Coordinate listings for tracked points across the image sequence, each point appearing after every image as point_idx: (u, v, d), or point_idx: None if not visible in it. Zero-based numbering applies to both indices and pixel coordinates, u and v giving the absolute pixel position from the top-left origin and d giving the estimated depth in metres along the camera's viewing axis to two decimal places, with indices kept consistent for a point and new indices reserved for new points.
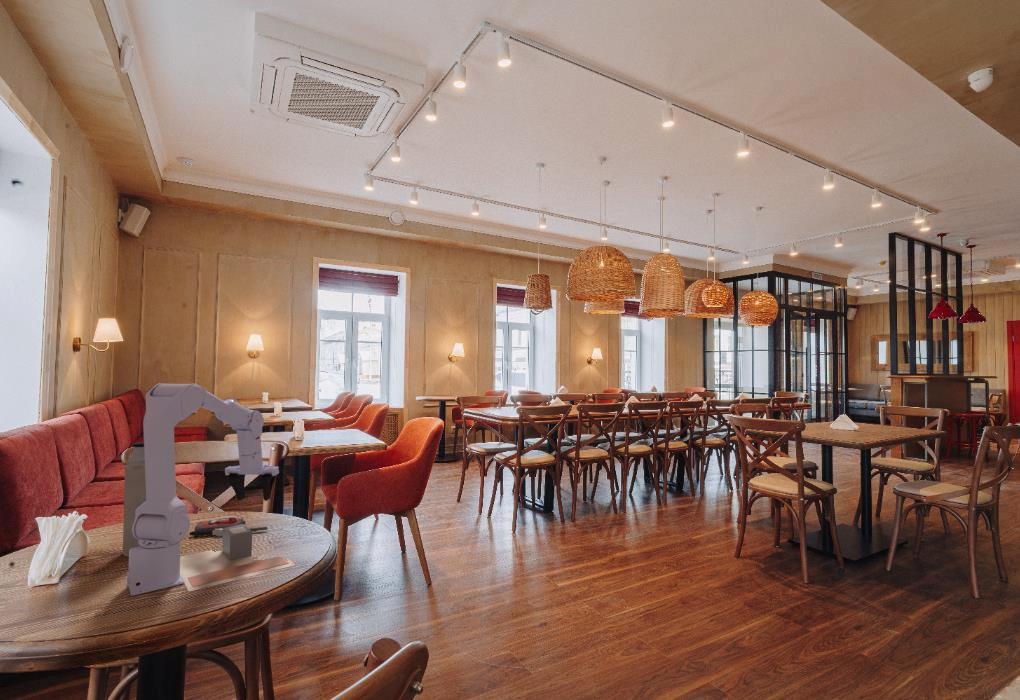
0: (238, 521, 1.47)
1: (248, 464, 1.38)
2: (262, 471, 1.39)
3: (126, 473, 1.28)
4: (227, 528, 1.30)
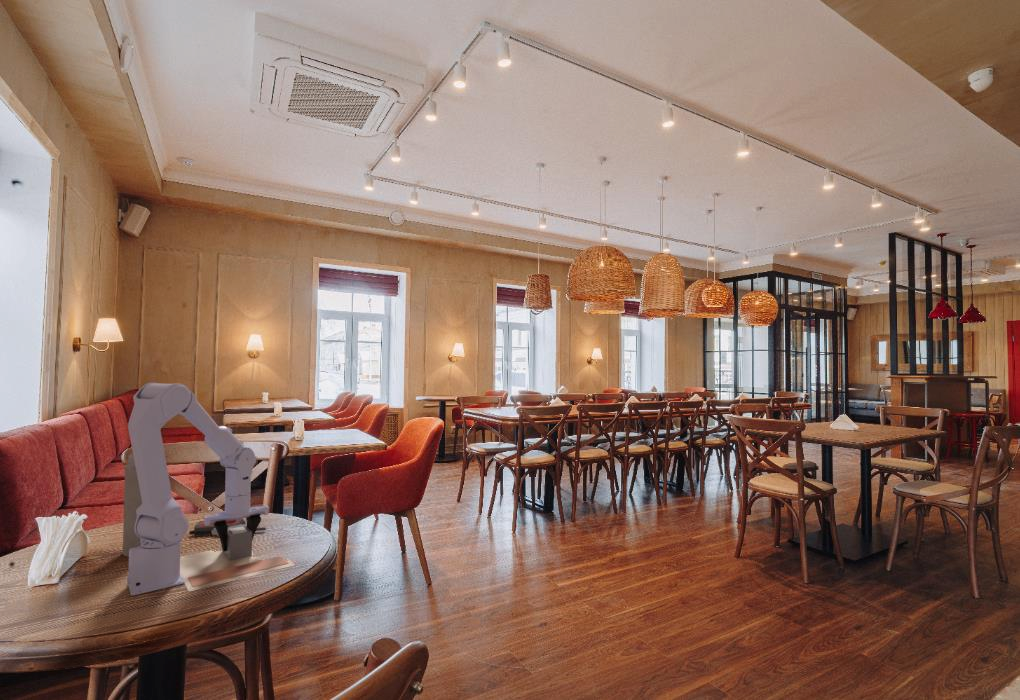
0: (237, 521, 1.47)
1: (244, 505, 1.28)
2: (256, 511, 1.30)
3: (126, 473, 1.28)
4: None
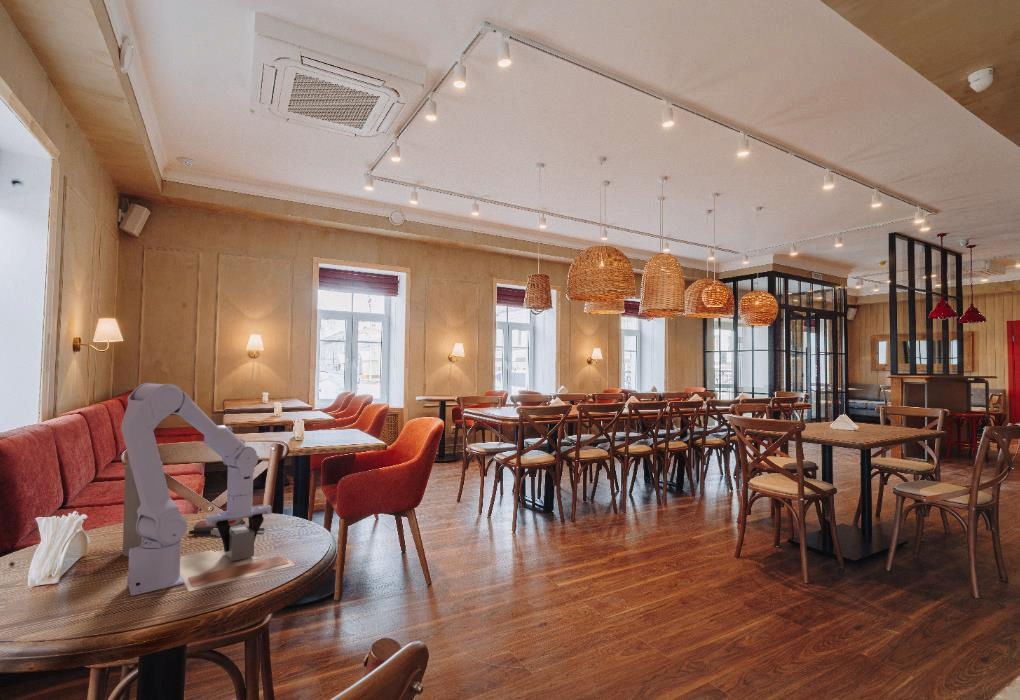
0: (237, 521, 1.47)
1: (246, 504, 1.26)
2: (259, 511, 1.29)
3: (126, 473, 1.28)
4: None
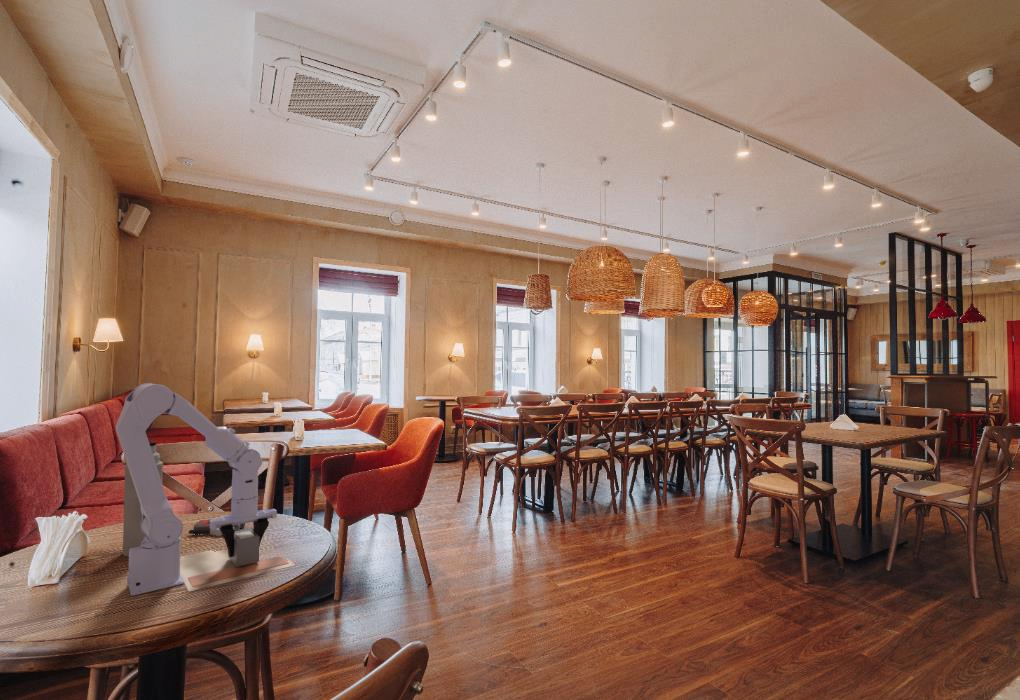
0: None
1: (251, 508, 1.23)
2: (264, 515, 1.25)
3: (126, 473, 1.28)
4: None
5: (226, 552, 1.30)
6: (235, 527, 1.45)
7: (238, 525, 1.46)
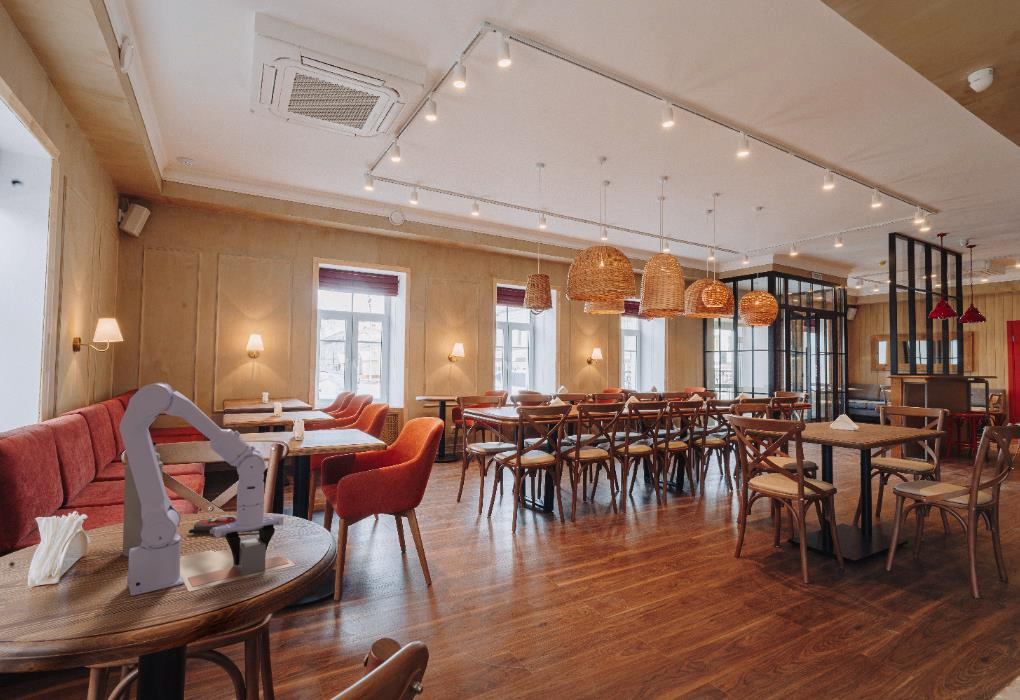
0: (236, 521, 1.47)
1: (257, 515, 1.19)
2: (270, 521, 1.21)
3: (126, 473, 1.28)
4: None
5: (226, 552, 1.30)
6: None
7: None
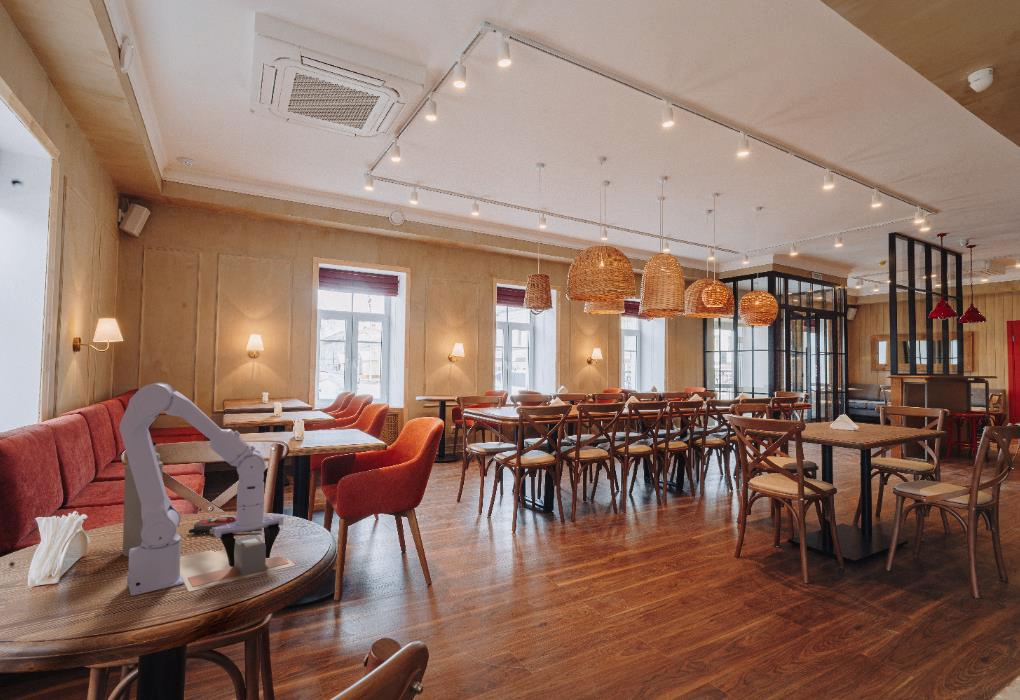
0: (236, 521, 1.47)
1: (257, 515, 1.19)
2: (270, 521, 1.21)
3: (126, 473, 1.28)
4: (239, 540, 1.21)
5: None
6: None
7: None
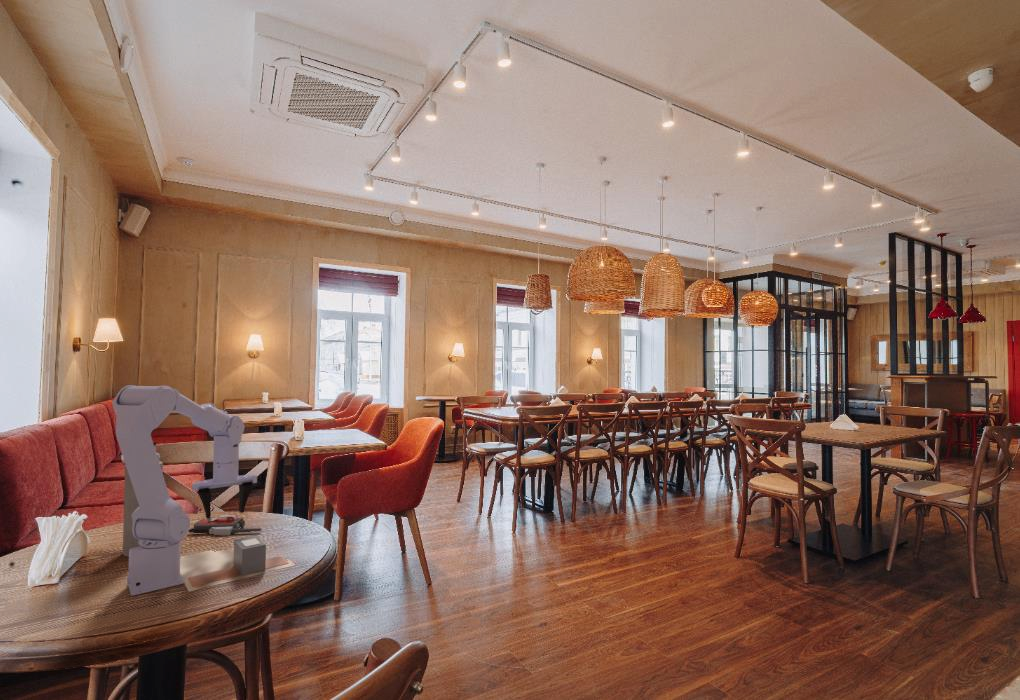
0: (236, 521, 1.47)
1: (232, 472, 1.30)
2: (244, 479, 1.32)
3: (126, 473, 1.28)
4: (239, 540, 1.21)
5: (226, 552, 1.30)
6: (234, 527, 1.45)
7: (237, 525, 1.46)
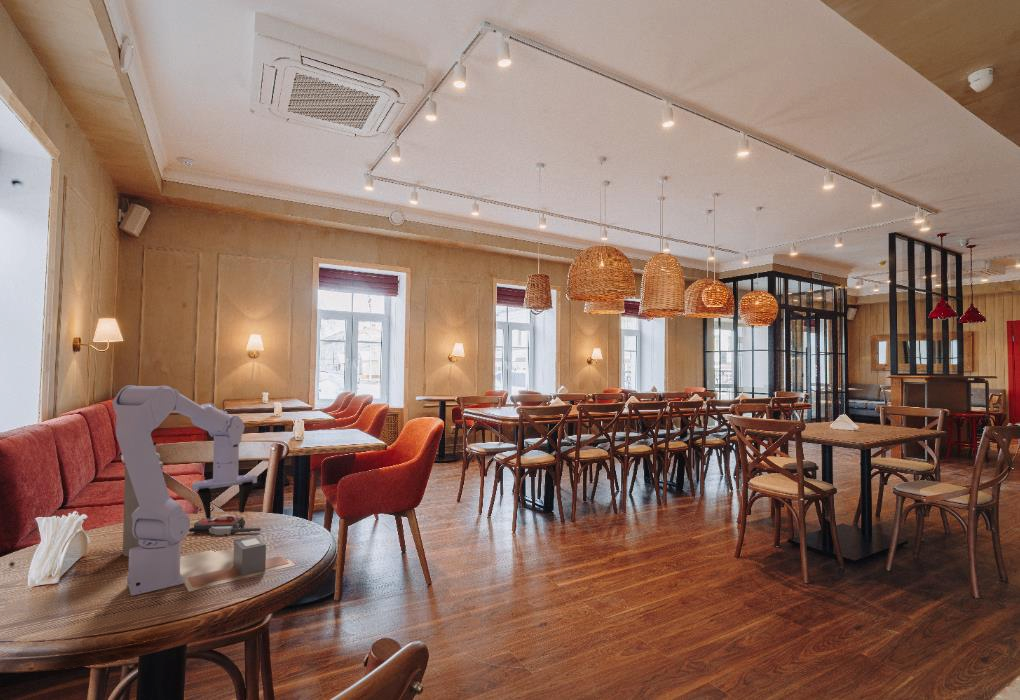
0: (235, 520, 1.47)
1: (232, 472, 1.30)
2: (244, 479, 1.32)
3: (126, 473, 1.28)
4: (239, 540, 1.21)
5: (226, 552, 1.30)
6: (233, 526, 1.45)
7: (237, 524, 1.46)
